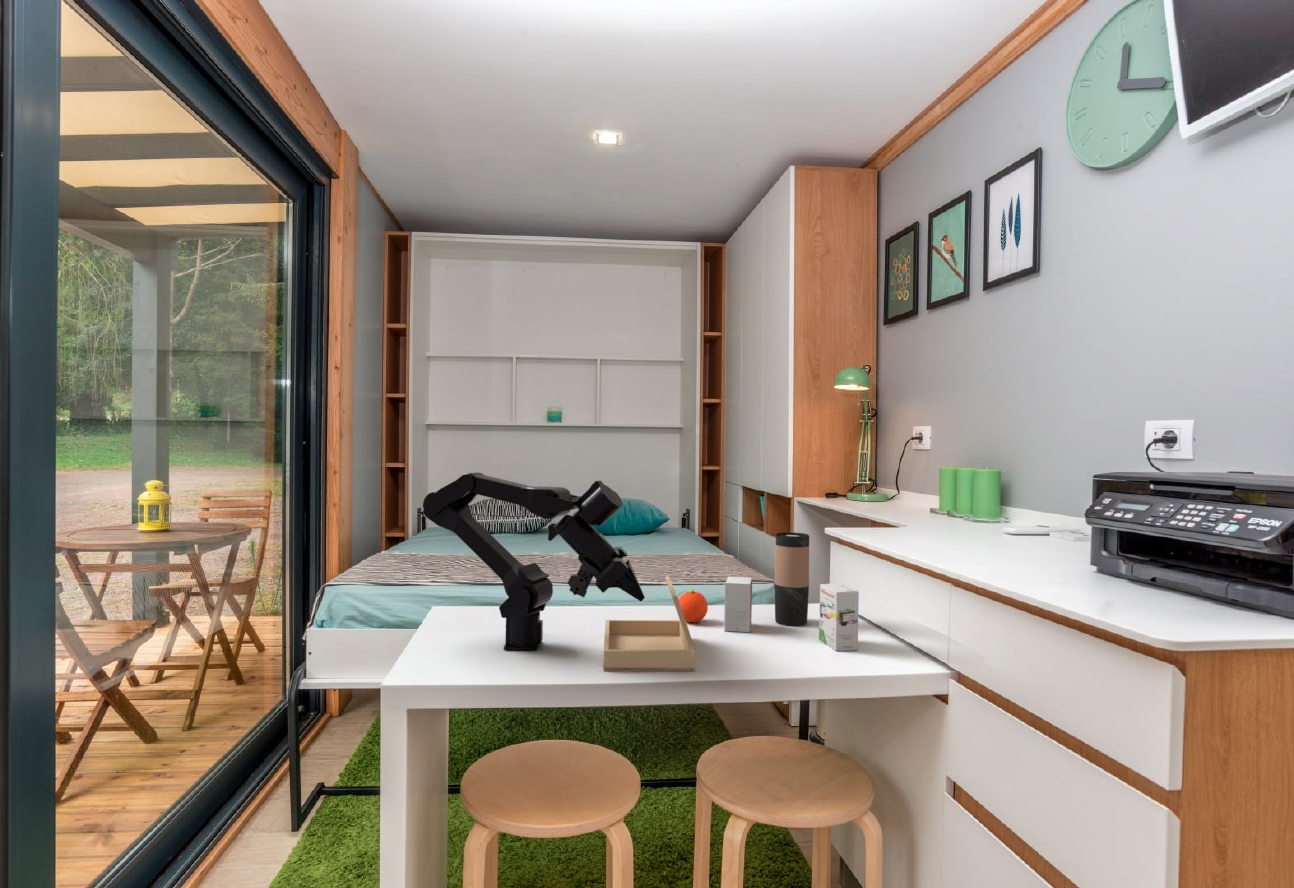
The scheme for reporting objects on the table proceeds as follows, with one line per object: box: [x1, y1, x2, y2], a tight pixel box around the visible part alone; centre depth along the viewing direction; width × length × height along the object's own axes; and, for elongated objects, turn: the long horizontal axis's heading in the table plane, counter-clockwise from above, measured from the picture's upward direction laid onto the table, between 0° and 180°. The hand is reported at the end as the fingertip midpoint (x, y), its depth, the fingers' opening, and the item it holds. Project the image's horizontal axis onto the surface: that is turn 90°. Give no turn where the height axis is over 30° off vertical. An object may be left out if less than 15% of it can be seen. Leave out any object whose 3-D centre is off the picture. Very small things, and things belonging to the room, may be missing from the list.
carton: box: [602, 619, 696, 672], centre depth 134 cm, size 16×22×4 cm
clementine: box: [677, 590, 709, 623], centre depth 158 cm, size 8×7×7 cm
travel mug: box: [774, 531, 810, 627], centre depth 159 cm, size 8×8×20 cm
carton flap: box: [664, 575, 694, 645], centre depth 134 cm, size 1×20×9 cm, turn 2°
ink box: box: [818, 582, 860, 652], centre depth 141 cm, size 8×5×12 cm, turn 9°
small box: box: [723, 576, 753, 633], centre depth 153 cm, size 8×6×10 cm
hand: (642, 599), depth 133 cm, fingers closed
